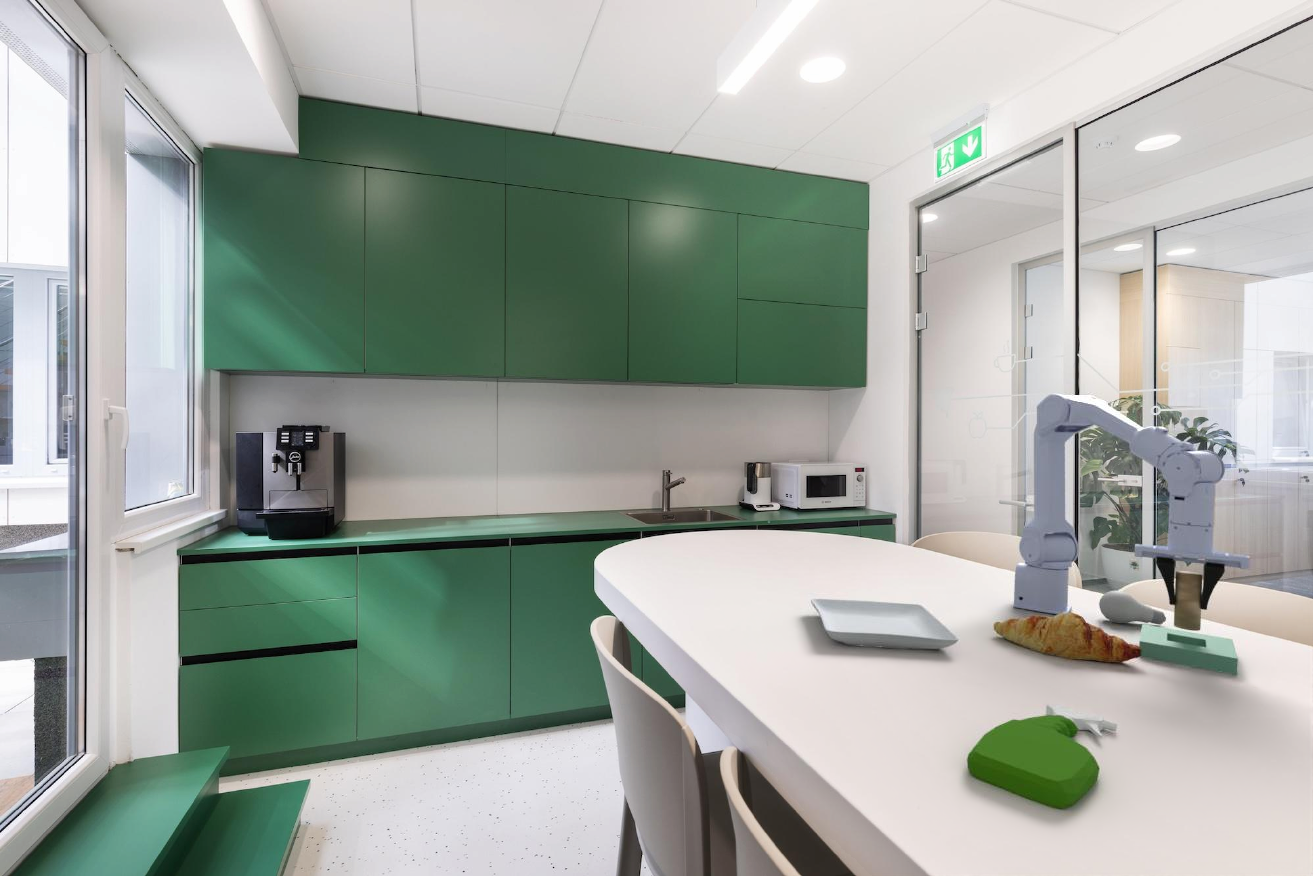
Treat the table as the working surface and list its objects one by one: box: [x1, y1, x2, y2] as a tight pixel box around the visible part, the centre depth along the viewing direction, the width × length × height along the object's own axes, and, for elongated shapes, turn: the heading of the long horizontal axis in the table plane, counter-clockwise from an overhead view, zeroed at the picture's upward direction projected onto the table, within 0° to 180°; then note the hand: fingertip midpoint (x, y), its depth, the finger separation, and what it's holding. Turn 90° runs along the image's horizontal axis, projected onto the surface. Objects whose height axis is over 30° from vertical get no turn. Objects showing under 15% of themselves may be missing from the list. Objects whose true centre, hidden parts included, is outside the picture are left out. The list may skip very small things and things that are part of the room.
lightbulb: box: [1098, 590, 1167, 626], centre depth 125 cm, size 6×6×11 cm
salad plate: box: [810, 598, 959, 650], centre depth 116 cm, size 21×21×3 cm
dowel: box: [1173, 570, 1203, 632], centre depth 107 cm, size 3×3×9 cm
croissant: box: [993, 611, 1142, 663], centre depth 108 cm, size 21×10×8 cm, turn 50°
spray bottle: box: [966, 703, 1118, 810], centre depth 74 cm, size 3×11×24 cm
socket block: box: [1138, 623, 1239, 675], centre depth 107 cm, size 12×12×2 cm
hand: (1187, 606), depth 107 cm, fingers closed on dowel, 3 cm apart
